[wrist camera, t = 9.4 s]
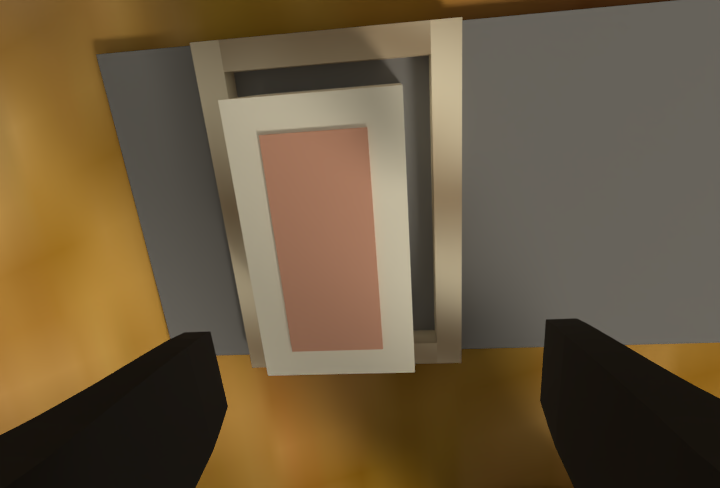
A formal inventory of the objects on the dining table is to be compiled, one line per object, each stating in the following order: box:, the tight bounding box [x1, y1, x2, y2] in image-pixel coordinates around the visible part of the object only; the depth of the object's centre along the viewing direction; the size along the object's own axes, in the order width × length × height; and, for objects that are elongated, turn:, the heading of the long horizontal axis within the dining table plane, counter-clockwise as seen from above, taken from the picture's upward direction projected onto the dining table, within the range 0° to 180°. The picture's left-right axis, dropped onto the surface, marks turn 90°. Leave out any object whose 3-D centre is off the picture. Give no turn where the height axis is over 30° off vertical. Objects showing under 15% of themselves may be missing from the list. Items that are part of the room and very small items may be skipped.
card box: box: [218, 83, 415, 376], centre depth 15 cm, size 9×5×5 cm, turn 5°
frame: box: [190, 17, 462, 368], centre depth 17 cm, size 13×9×1 cm
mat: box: [96, 0, 720, 355], centre depth 17 cm, size 13×34×1 cm, turn 95°
